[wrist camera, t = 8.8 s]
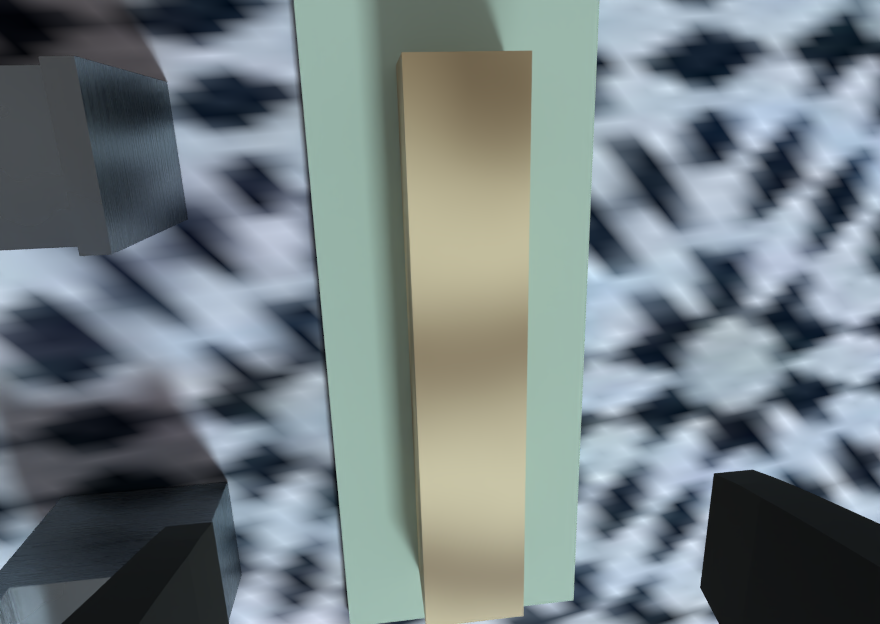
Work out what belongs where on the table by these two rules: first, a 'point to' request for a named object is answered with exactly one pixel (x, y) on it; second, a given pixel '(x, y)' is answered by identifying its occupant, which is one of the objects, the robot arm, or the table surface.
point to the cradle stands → (94, 233)
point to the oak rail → (467, 322)
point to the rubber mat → (384, 281)
